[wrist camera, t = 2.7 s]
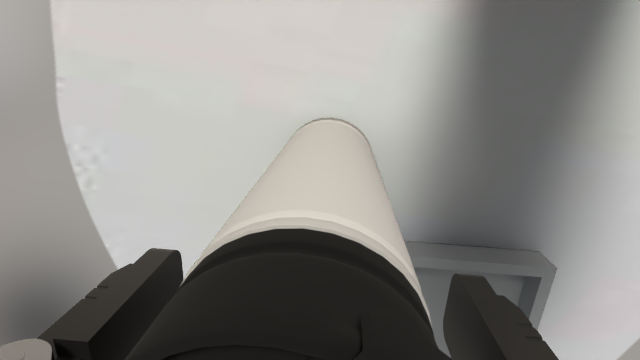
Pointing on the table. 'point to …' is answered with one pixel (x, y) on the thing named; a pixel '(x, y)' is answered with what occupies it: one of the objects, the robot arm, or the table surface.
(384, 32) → the table surface
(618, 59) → the table surface
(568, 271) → the table surface
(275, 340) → the travel mug
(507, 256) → the tray
